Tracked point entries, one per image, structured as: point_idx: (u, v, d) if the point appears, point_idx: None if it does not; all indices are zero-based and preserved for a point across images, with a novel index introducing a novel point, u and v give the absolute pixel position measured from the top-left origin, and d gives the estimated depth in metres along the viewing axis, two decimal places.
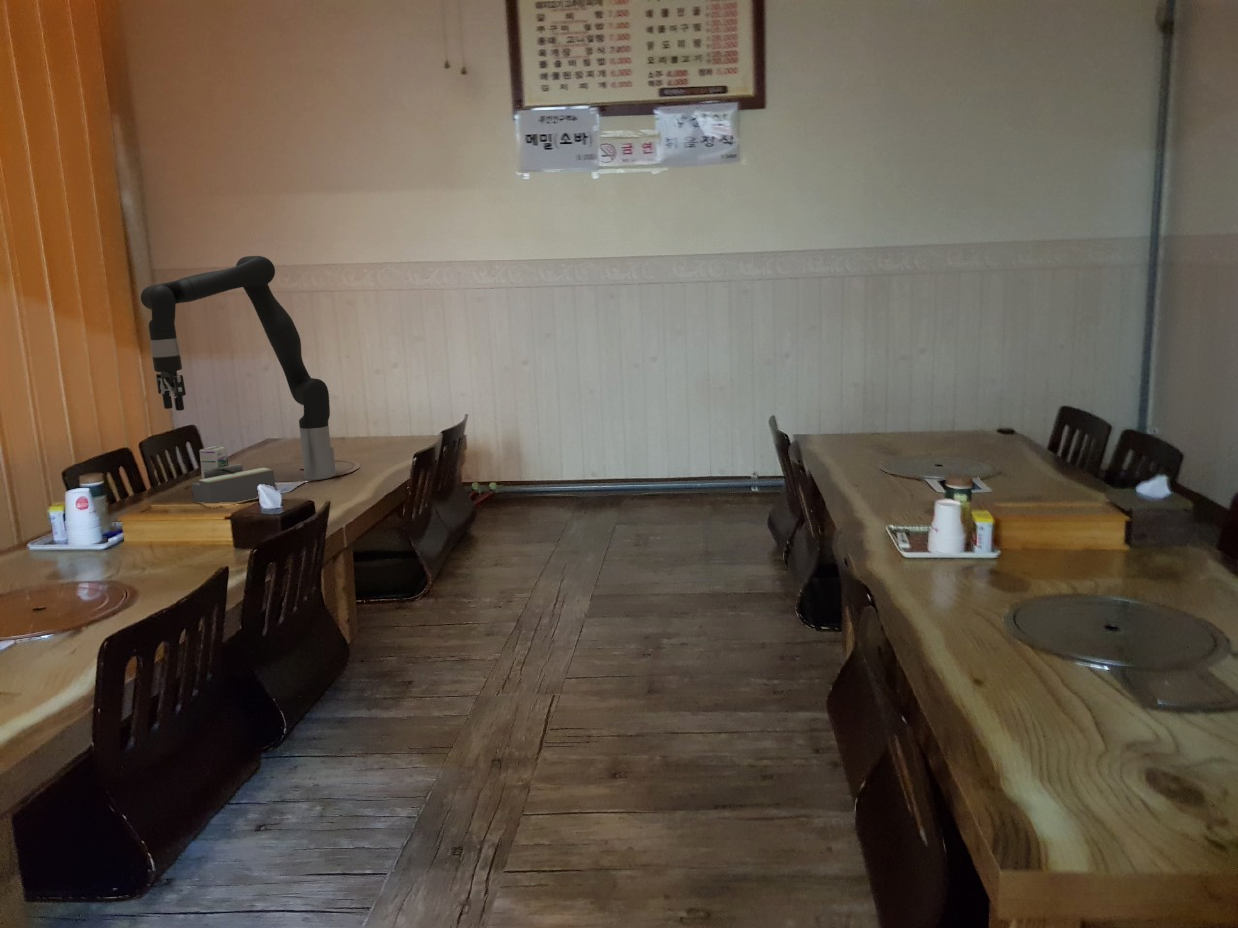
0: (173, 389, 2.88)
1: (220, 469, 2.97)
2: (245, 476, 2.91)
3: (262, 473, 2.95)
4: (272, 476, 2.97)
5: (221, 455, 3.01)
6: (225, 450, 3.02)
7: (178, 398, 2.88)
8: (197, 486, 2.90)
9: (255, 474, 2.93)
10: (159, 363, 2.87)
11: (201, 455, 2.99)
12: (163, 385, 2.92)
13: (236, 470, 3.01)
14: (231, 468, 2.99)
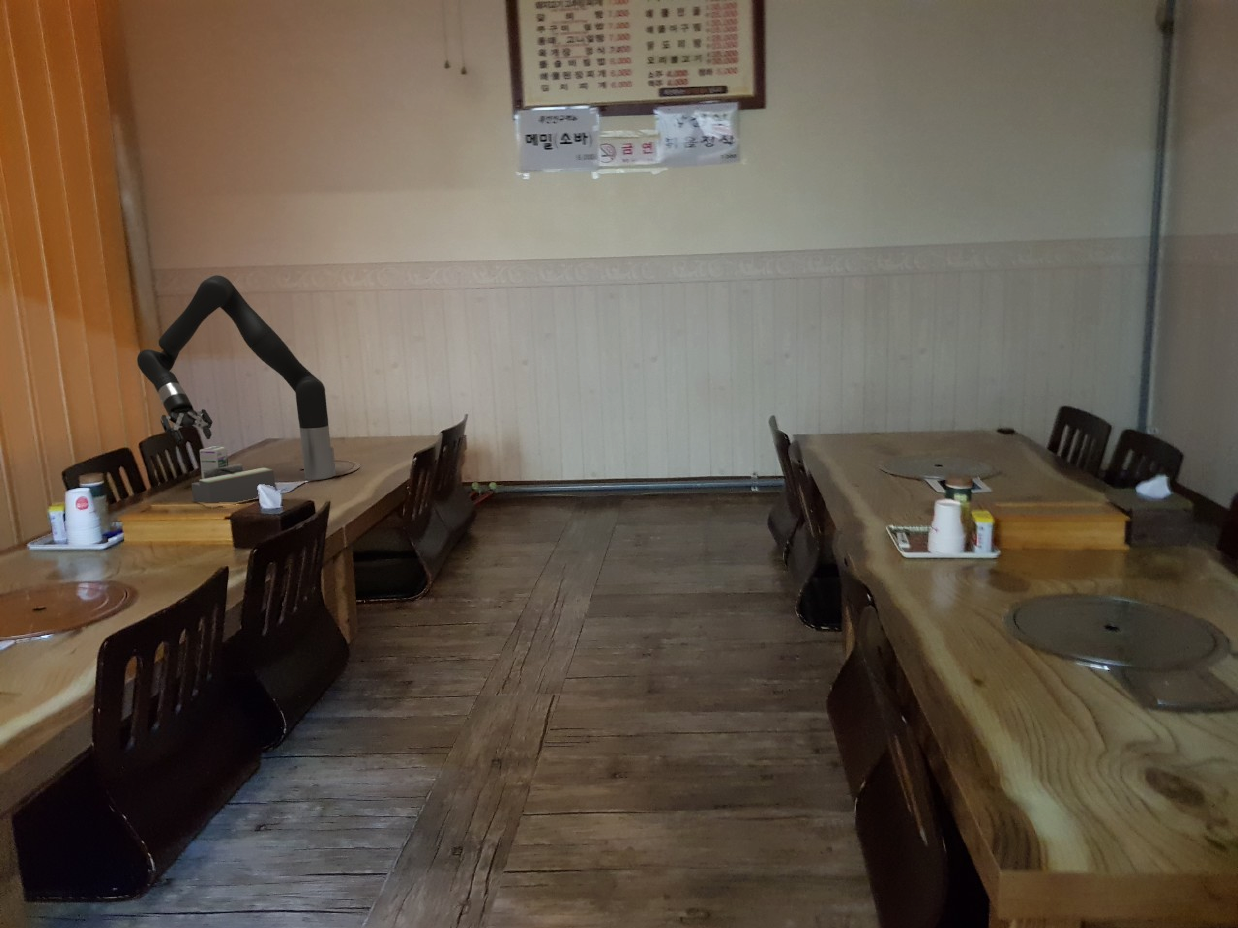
0: None
1: (220, 469, 2.97)
2: (245, 476, 2.91)
3: (262, 473, 2.95)
4: (272, 476, 2.97)
5: (221, 455, 3.01)
6: (225, 450, 3.02)
7: (173, 434, 3.05)
8: (197, 486, 2.90)
9: (255, 474, 2.93)
10: None
11: (201, 455, 2.99)
12: None
13: (236, 470, 3.01)
14: (231, 468, 2.99)
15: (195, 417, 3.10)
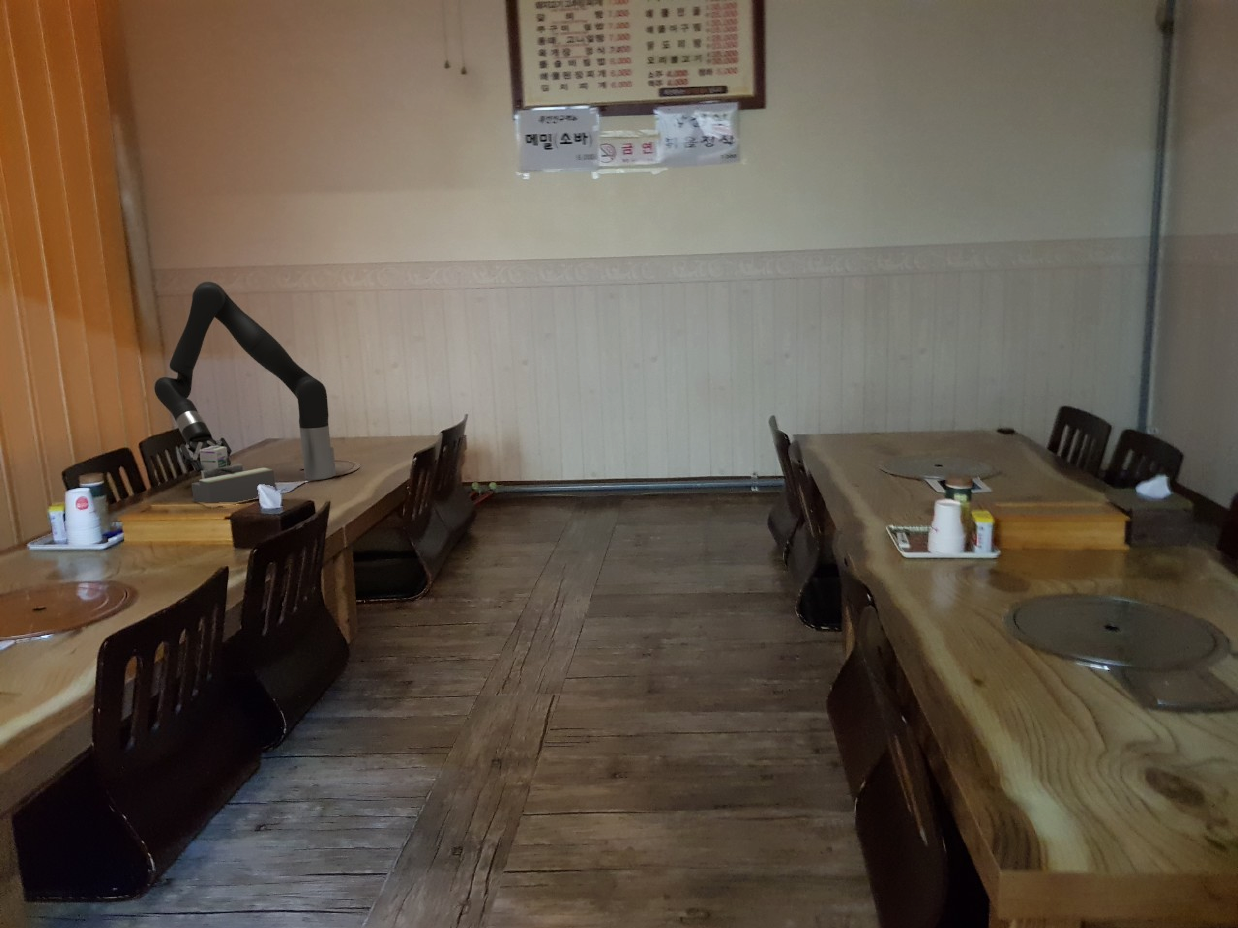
0: None
1: (220, 469, 2.97)
2: (245, 476, 2.91)
3: (262, 473, 2.95)
4: (272, 476, 2.97)
5: (221, 455, 3.00)
6: (225, 450, 3.02)
7: (192, 463, 2.99)
8: (197, 486, 2.90)
9: (255, 474, 2.93)
10: None
11: (201, 455, 2.99)
12: None
13: (236, 470, 3.01)
14: (231, 468, 2.99)
15: None
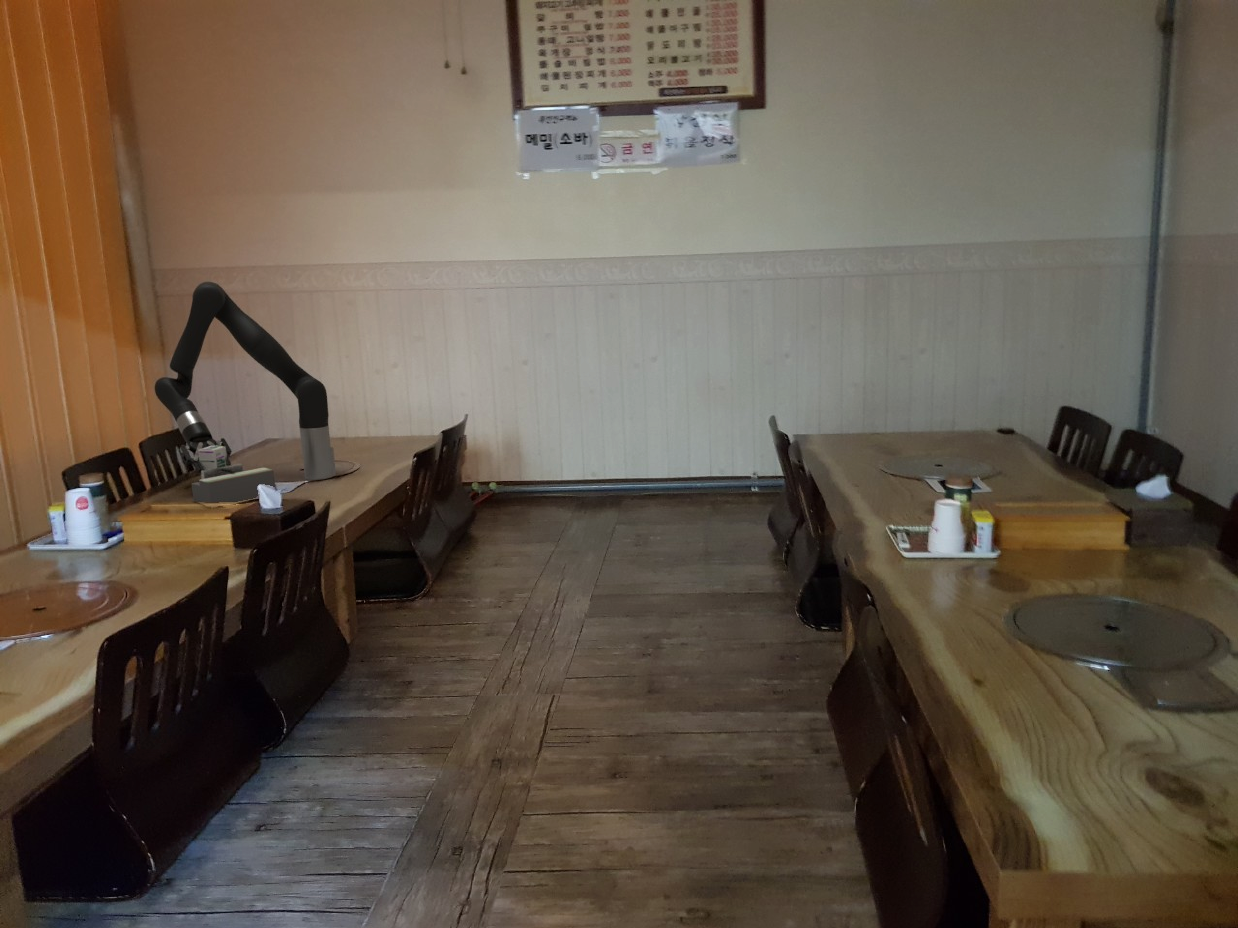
0: None
1: (220, 469, 2.97)
2: (245, 476, 2.91)
3: (262, 473, 2.95)
4: (272, 476, 2.97)
5: (220, 455, 3.00)
6: (224, 450, 3.02)
7: (193, 464, 2.99)
8: (197, 486, 2.90)
9: (255, 474, 2.93)
10: None
11: (200, 455, 2.99)
12: None
13: (236, 470, 3.01)
14: (231, 468, 2.99)
15: None
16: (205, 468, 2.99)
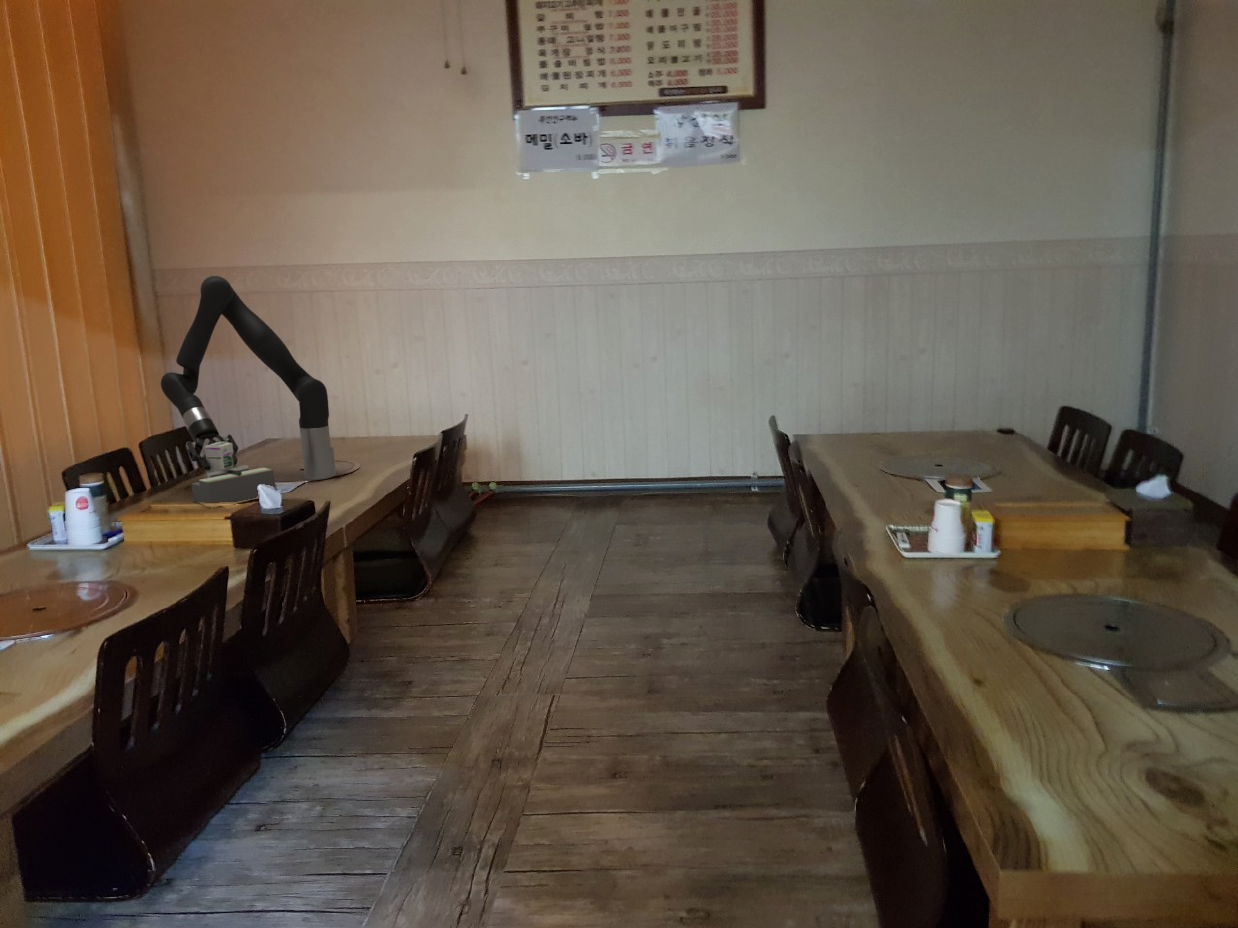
0: (200, 454, 2.98)
1: (226, 471, 2.94)
2: (245, 476, 2.91)
3: (262, 473, 2.95)
4: (272, 476, 2.97)
5: (227, 451, 2.97)
6: (231, 446, 2.98)
7: (199, 461, 2.96)
8: (197, 486, 2.90)
9: (255, 474, 2.93)
10: None
11: (206, 451, 2.95)
12: None
13: (242, 471, 2.98)
14: (237, 469, 2.97)
15: None
16: (212, 465, 2.96)
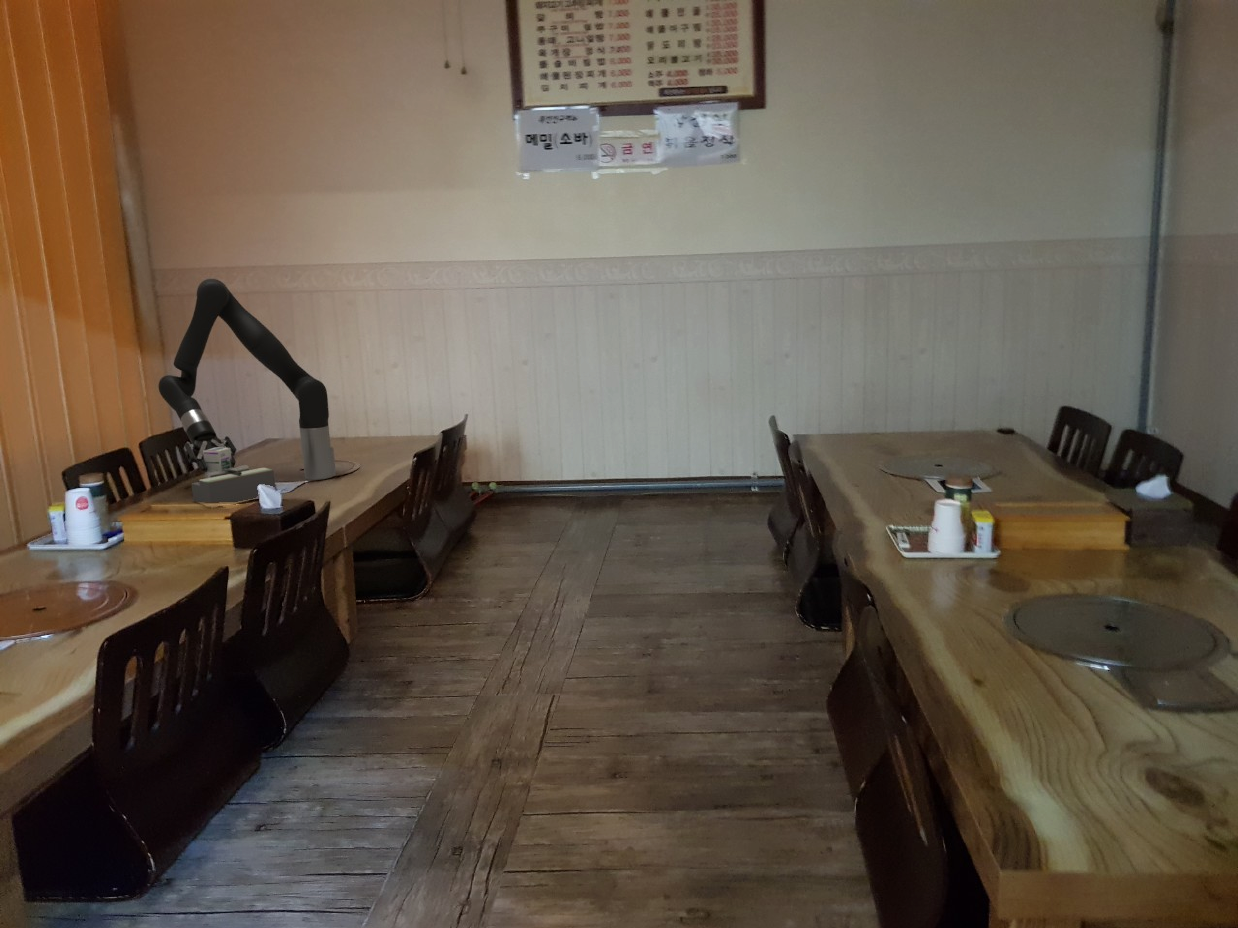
0: None
1: (226, 471, 2.94)
2: (245, 476, 2.91)
3: (262, 473, 2.95)
4: (272, 476, 2.97)
5: (225, 456, 2.99)
6: (229, 451, 3.00)
7: (197, 462, 2.97)
8: (197, 486, 2.90)
9: (255, 474, 2.93)
10: None
11: (205, 456, 2.97)
12: None
13: (242, 471, 2.98)
14: (237, 469, 2.97)
15: (219, 445, 3.02)
16: (210, 469, 2.98)
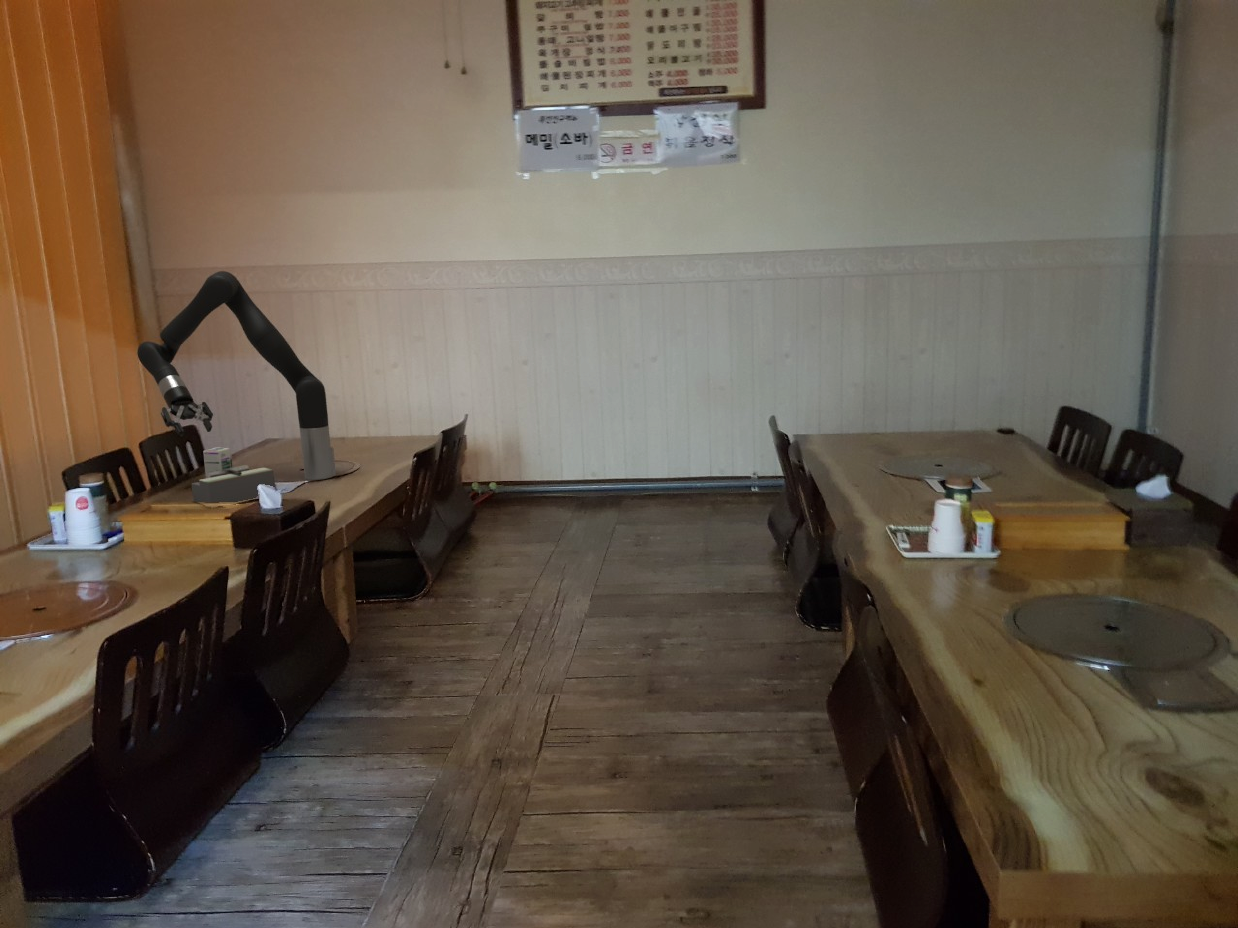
0: None
1: (226, 471, 2.94)
2: (245, 476, 2.91)
3: (262, 473, 2.95)
4: (272, 476, 2.97)
5: (225, 456, 2.99)
6: (229, 451, 3.00)
7: (174, 426, 3.03)
8: (197, 486, 2.90)
9: (255, 474, 2.93)
10: None
11: (205, 456, 2.97)
12: None
13: (242, 471, 2.98)
14: (237, 469, 2.97)
15: (196, 410, 3.09)
16: (210, 469, 2.98)
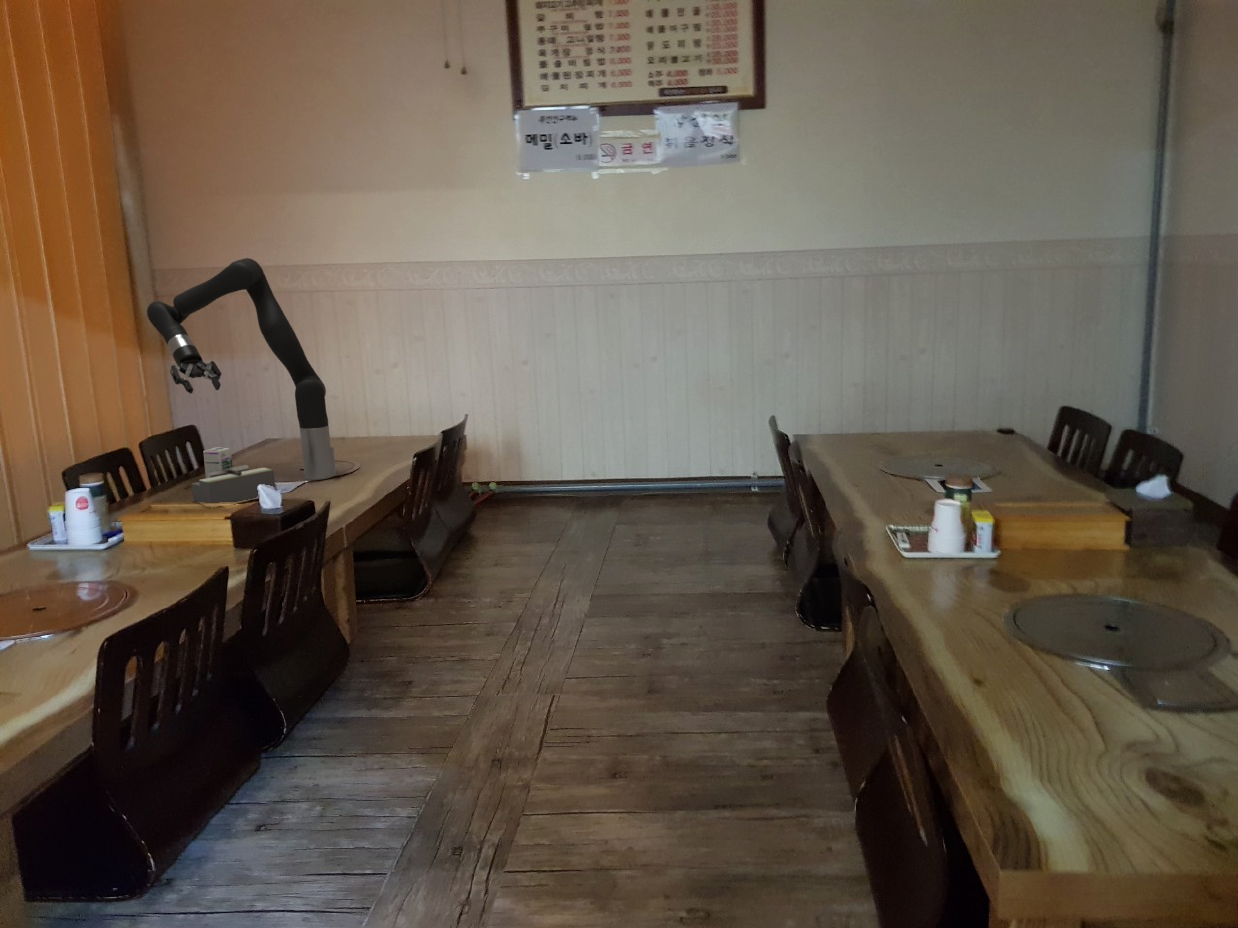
0: None
1: (226, 471, 2.94)
2: (245, 476, 2.91)
3: (262, 473, 2.95)
4: (272, 476, 2.97)
5: (225, 456, 2.99)
6: (229, 451, 3.00)
7: (183, 384, 3.08)
8: (197, 486, 2.90)
9: (255, 474, 2.93)
10: None
11: (205, 456, 2.97)
12: None
13: (242, 471, 2.98)
14: (237, 469, 2.97)
15: (204, 368, 3.13)
16: (210, 469, 2.98)
